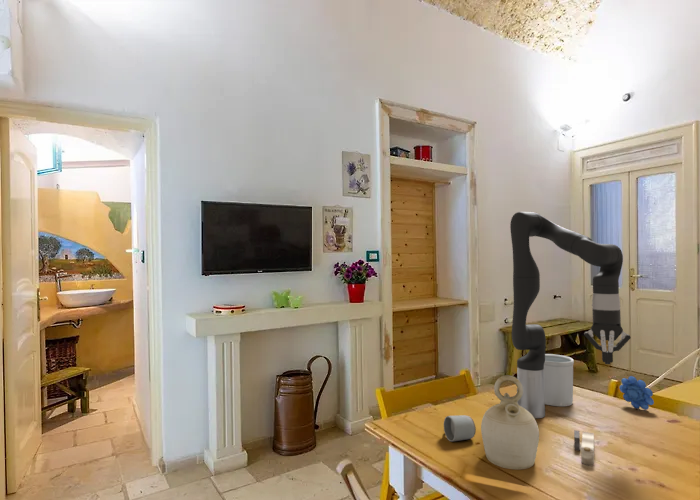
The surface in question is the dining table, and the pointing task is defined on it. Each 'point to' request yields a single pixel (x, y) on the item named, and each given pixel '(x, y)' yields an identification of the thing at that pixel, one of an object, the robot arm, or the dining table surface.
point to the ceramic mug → (459, 428)
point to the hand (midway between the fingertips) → (607, 363)
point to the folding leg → (587, 448)
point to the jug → (509, 430)
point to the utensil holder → (558, 380)
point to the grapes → (636, 393)
